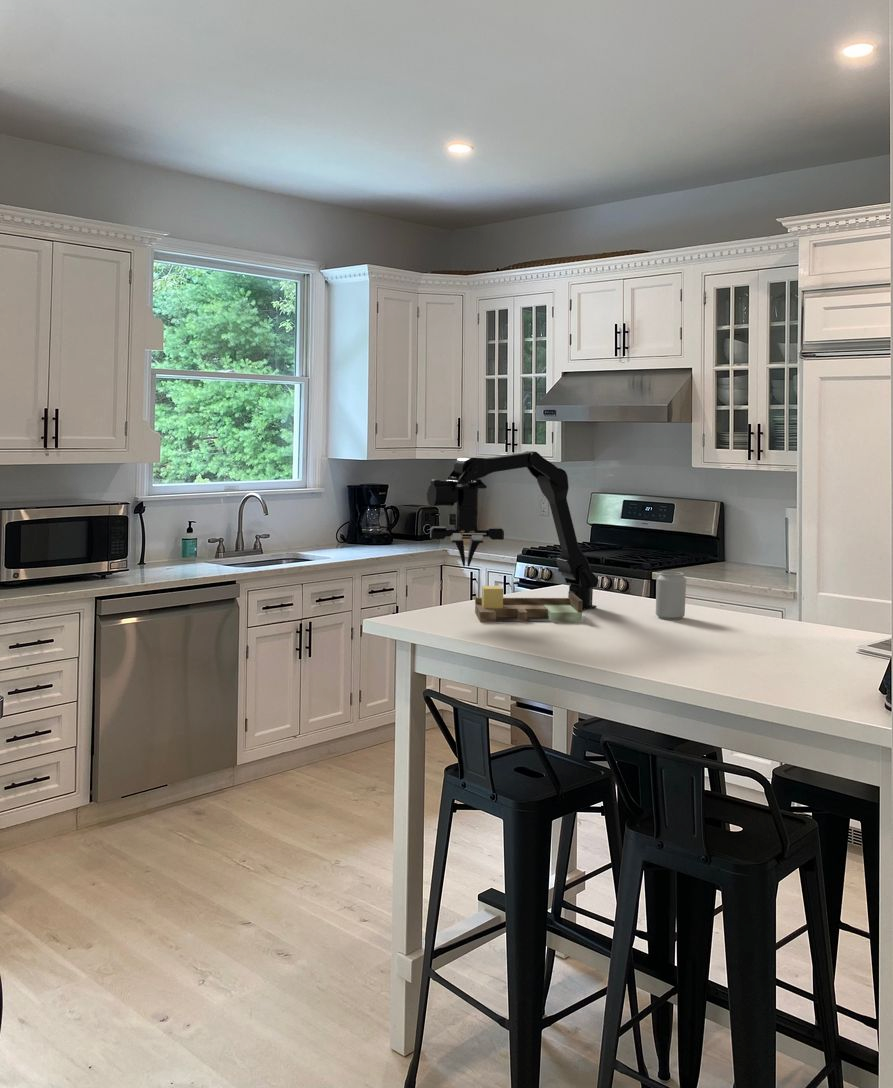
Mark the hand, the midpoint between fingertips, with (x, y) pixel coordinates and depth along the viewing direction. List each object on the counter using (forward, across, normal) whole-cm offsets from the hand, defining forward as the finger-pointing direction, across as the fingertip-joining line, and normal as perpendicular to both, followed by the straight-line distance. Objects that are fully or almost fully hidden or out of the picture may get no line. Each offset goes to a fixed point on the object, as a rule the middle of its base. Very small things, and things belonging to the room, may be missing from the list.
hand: (466, 566), depth 253 cm
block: (+10, -7, 0) cm, 13 cm away
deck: (+13, -16, +2) cm, 21 cm away
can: (+13, -54, +2) cm, 55 cm away
